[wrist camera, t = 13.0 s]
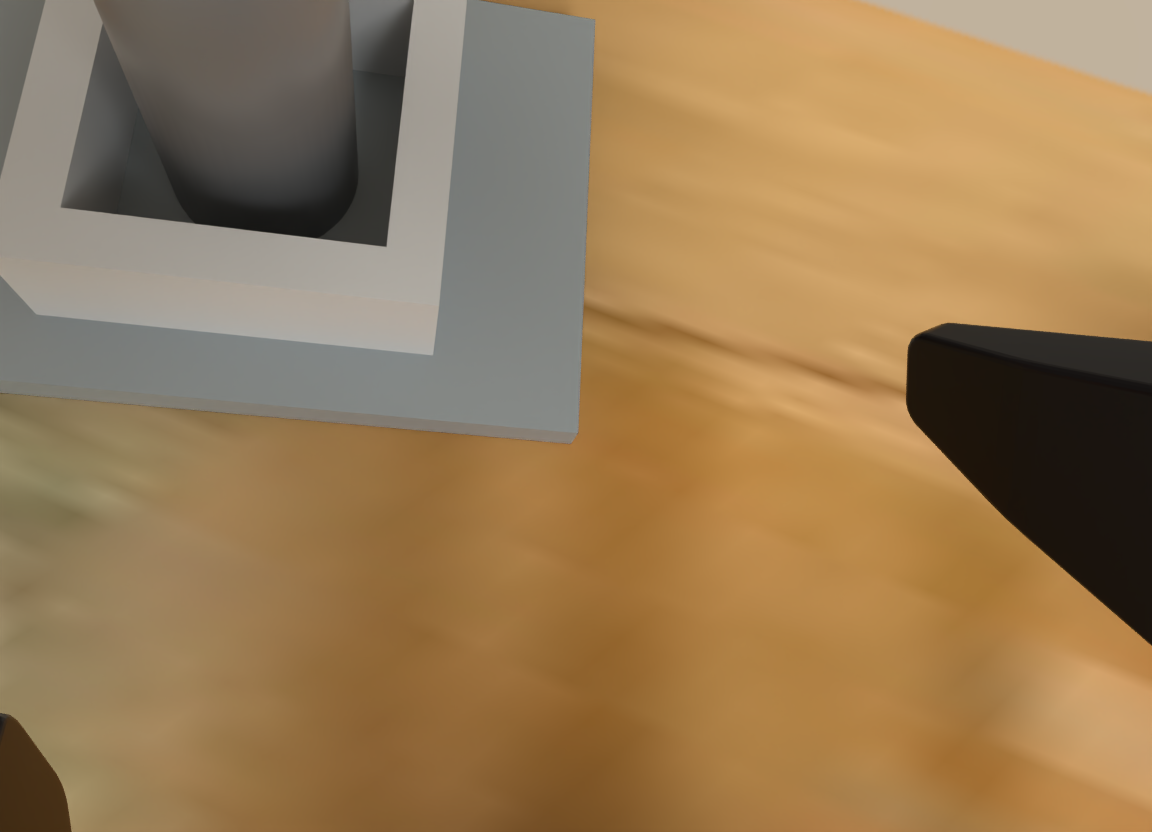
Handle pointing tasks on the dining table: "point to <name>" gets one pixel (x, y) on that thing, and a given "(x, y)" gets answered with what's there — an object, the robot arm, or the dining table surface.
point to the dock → (308, 265)
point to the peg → (246, 106)
